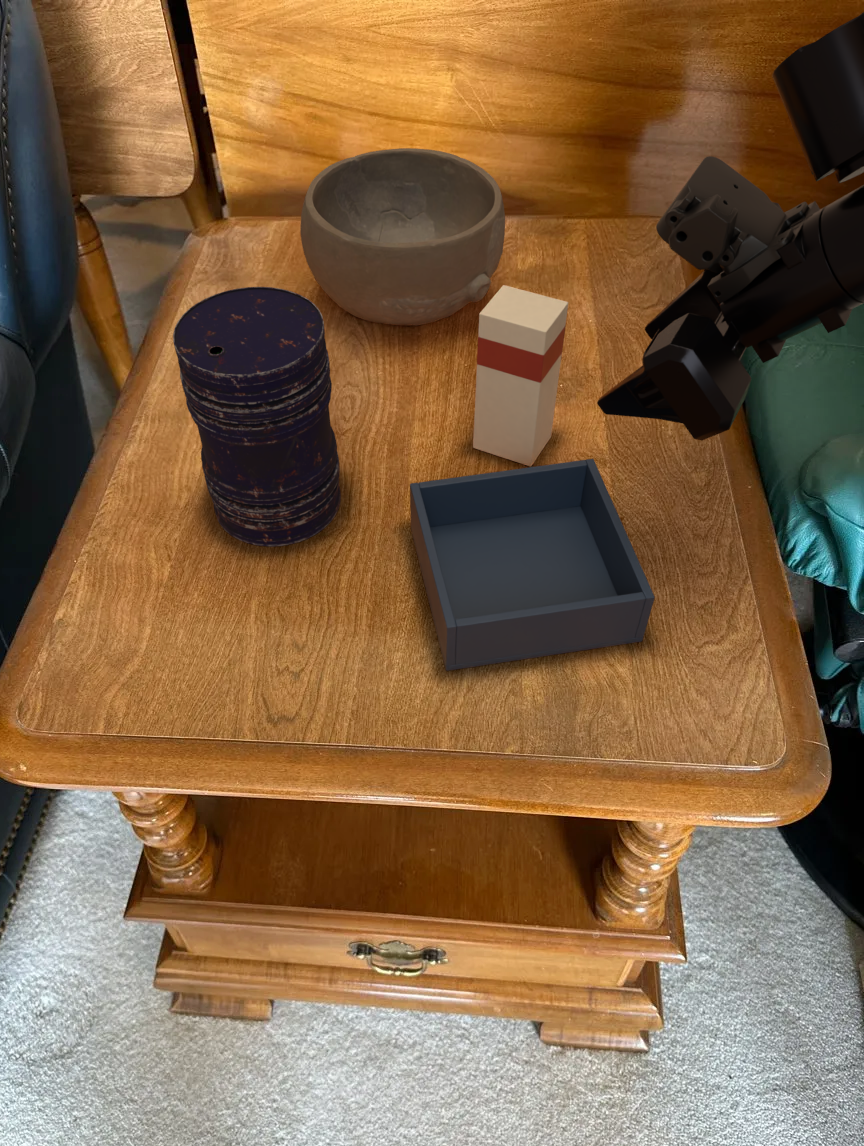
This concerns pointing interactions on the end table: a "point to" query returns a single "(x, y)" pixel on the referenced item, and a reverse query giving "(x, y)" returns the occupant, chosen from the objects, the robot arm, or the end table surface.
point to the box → (527, 564)
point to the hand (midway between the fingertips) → (625, 368)
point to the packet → (518, 373)
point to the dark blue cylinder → (262, 412)
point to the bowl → (403, 234)
